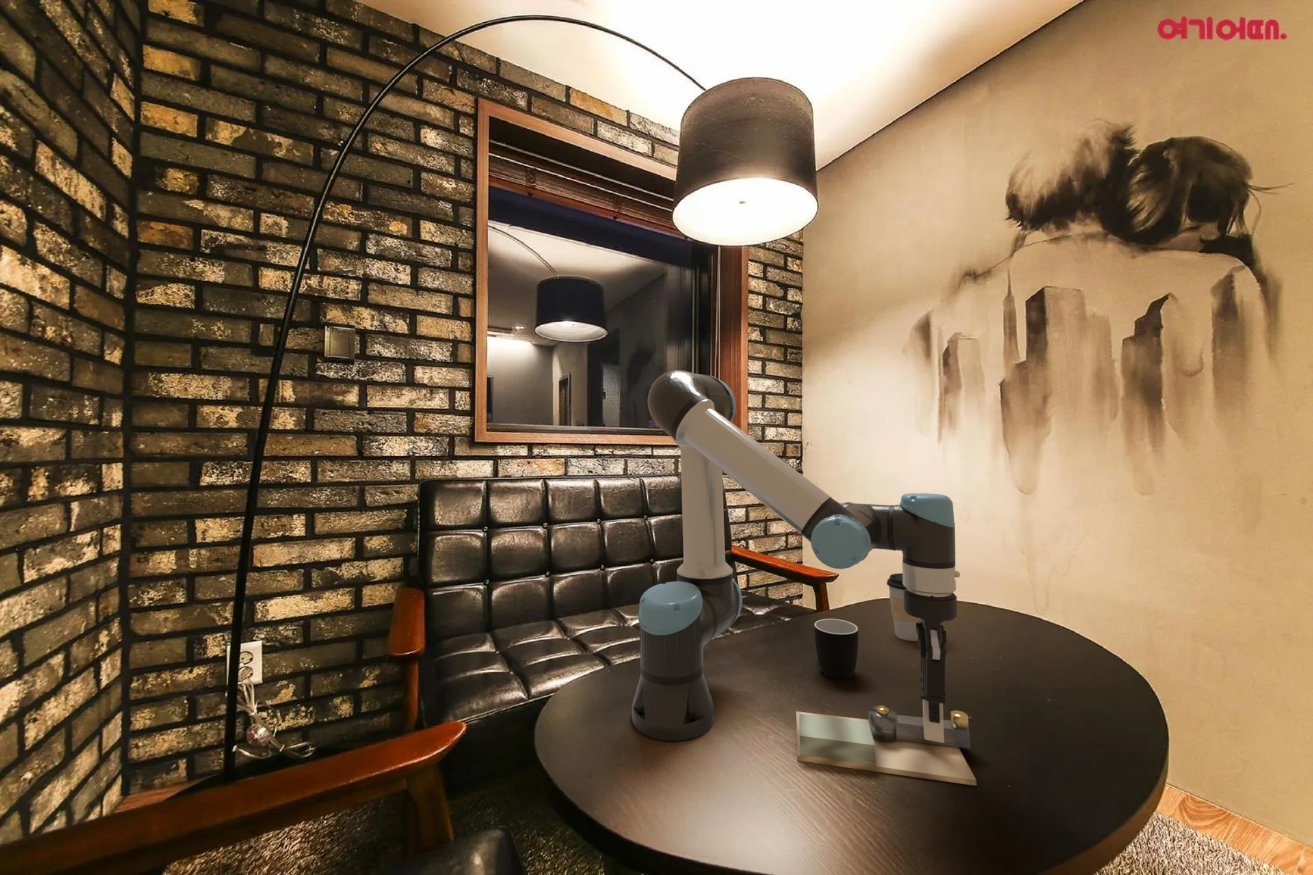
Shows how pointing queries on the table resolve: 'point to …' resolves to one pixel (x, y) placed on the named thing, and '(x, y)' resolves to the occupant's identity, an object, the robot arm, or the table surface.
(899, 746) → the board
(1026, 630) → the table surface
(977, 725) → the table surface
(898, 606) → the coffee cup
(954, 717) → the latch bar
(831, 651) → the mug
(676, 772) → the table surface
